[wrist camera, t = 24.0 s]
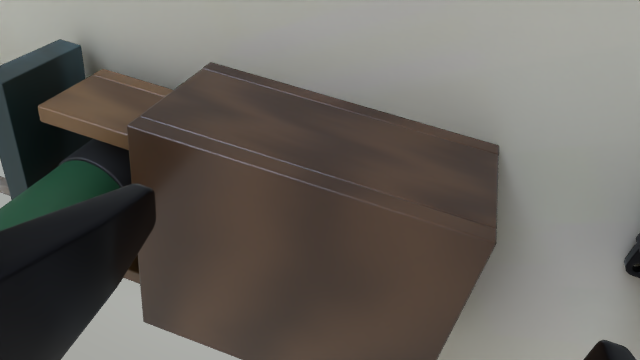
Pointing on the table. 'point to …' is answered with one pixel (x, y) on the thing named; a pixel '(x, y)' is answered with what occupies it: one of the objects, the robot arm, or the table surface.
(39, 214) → the green cylinder
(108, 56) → the table surface
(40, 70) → the drawer
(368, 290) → the cabinet
